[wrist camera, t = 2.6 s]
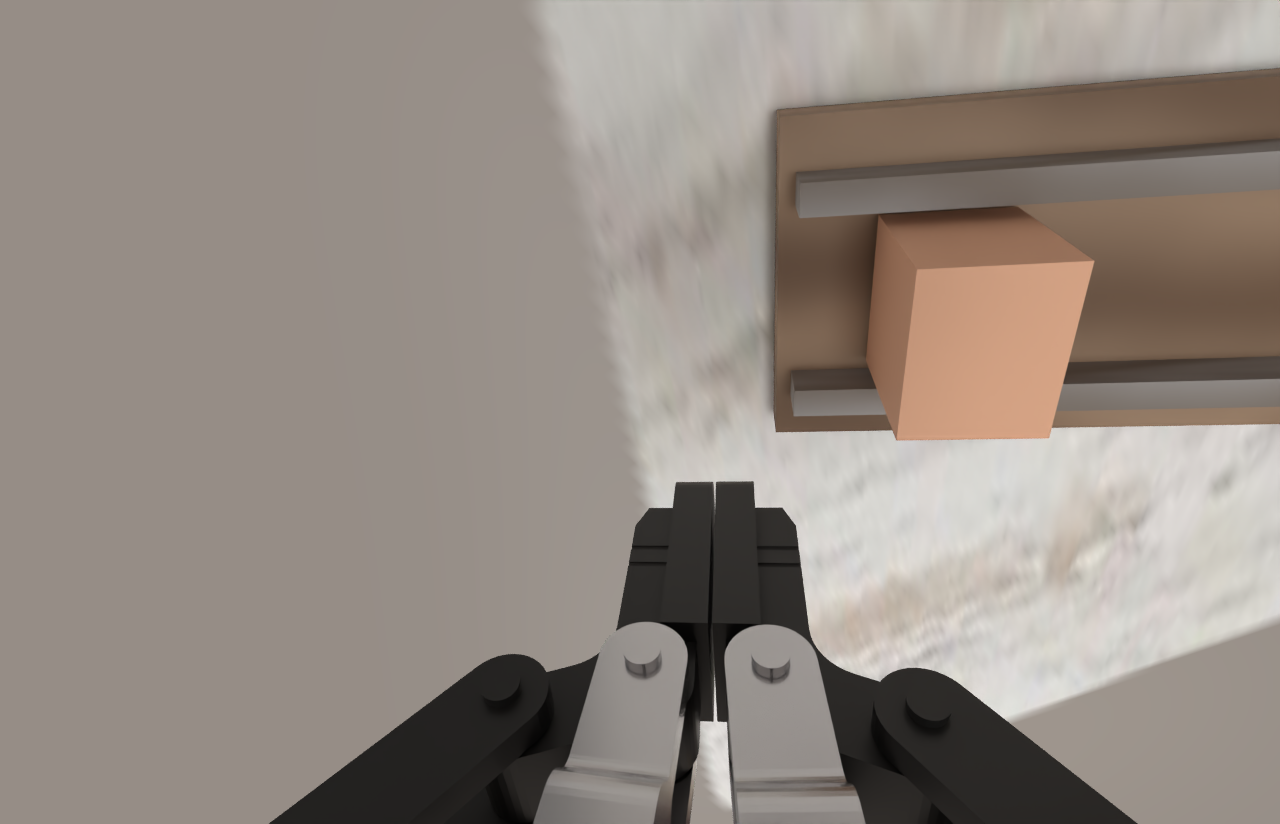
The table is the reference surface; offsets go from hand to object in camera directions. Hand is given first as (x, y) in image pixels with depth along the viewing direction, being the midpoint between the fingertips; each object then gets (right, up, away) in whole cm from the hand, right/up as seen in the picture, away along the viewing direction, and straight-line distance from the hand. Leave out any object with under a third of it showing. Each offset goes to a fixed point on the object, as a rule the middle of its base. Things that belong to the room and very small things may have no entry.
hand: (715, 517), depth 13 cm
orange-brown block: (+8, +6, +9) cm, 13 cm away
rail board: (+14, +7, +9) cm, 18 cm away
